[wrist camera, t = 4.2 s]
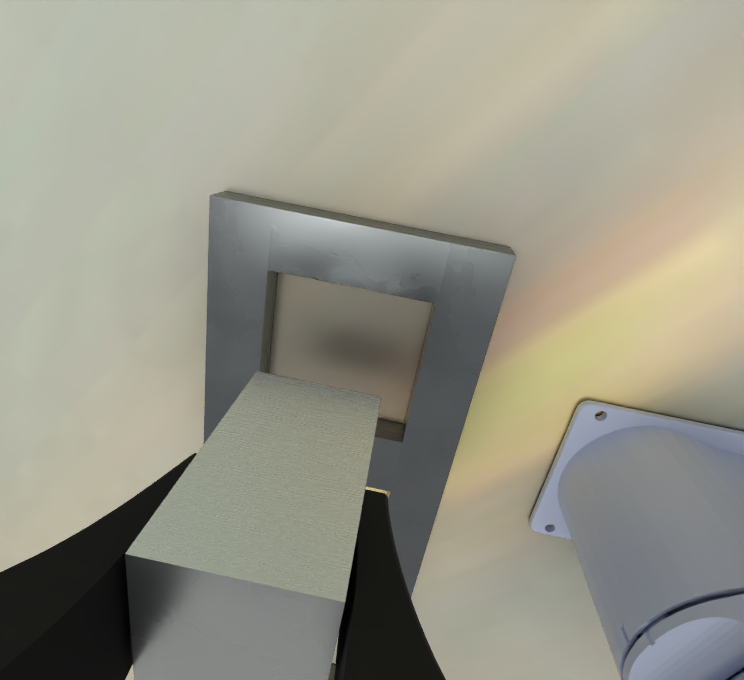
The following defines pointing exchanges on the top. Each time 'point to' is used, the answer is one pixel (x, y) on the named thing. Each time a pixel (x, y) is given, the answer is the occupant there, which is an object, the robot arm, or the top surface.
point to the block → (255, 540)
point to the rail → (371, 272)
